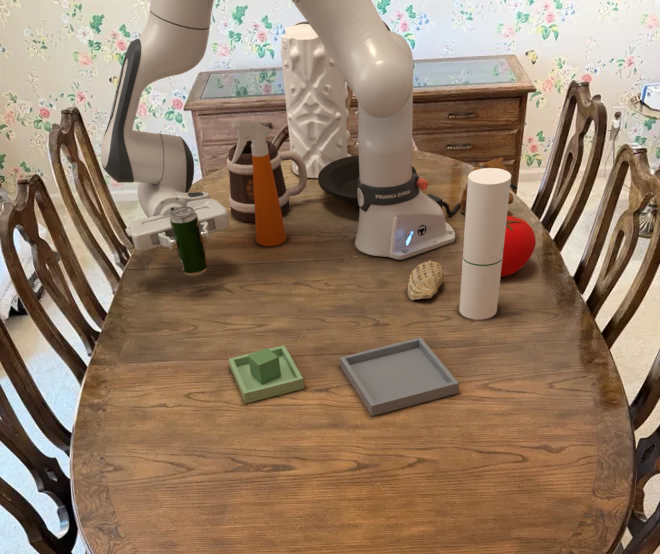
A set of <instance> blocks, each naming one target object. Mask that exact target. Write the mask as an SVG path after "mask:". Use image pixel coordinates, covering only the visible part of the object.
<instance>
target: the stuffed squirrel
mask: <svg viewBox="0 0 660 554" xmlns="http://www.w3.org/2000/svg"><path fill="white" fill-rule="evenodd" d="M503 162H504V158H503V157H499V158H494V159H491V160H488V161H486V162H480V163H479V166H475V167H474V168H473V169H472V170H471V172H473V171H475V170H478V169H483V168H498V169H503V170H506V171H508V169H507V168H506V166H505V165H504V163H503ZM508 172H509V171H508ZM511 179H514V178H513V175H512V174H511ZM467 187H468V182H467V183H466V185H465V188H464V189H463V192H462V195H461V199H460V201H459V202H458V203H460V209H461V212H462V213H463V214H464V216H466V202H467ZM513 202H514V195H513V193H512V192H510V193H509V202H508V205H512V204H513ZM507 216H513V217H514V213H513V212H511V211H510V210H508V212H507Z"/></svg>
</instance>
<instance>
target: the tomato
mask: <svg viewBox="0 0 660 554" xmlns="http://www.w3.org/2000/svg"><path fill="white" fill-rule="evenodd" d="M536 243H537V241H536V233H535V232H534V229H533V227H532V226H531V225H530V224H529V223H528V222H527V221H525V220H524V219H523V218H519V217H517V216H514V215H513V216H507V221H506V230H505V239H504V249H503V258H502V267H501V277H500V278H503V277H507V276H510V275H513V274H515V273H517V272H518V271H519V270H521V269H522V268H523V267H525V265H526V264H527V263H528V262H529V260H530V259H531V257H532V255H533V253H534V251H535V247H536Z"/></svg>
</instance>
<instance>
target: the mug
mask: <svg viewBox="0 0 660 554" xmlns="http://www.w3.org/2000/svg"><path fill="white" fill-rule="evenodd" d="M266 143H267V145H268V153H269V157H270V161H271V166H272V171H273V175H274V180H275V185H276V190H277V194H278V199H279V204H280V208H281V213H282V217H283V216H285V215H286V213H287V212H288V211H289V209H290V206H291V204H290V197H294V196H295V197H296V196H297V195H300V194H301V193H302V192H303V191H304V189H306V188H307V182H308V178H307V172H306V165H305V162H304V160H303V159H302V157H301V156H300V155H299V154H297V153H296V152H294V151H291V150H285V151H278V148H277V146H276V145H275V144H274V143H272V142H271V141H268V140H266ZM251 144H252V139H249V140H248V141H247V142H246V145H245V147H244V149H243V151H242V153H241V155H240V156H239V158H238V159H237V161H236V162H235V163H234V164H231V161H232V159H233V156H234V153H235V150H236V147H237V143H236V144H234V145H233V146H232V147H231V148H230V149H229V150H228V157H227V158H226V168H227V169H228V173H229V174H228V175H229V177H228V178H229V191H230V194H229V196H228V205H229V206H230V213H231V215H232V216H233V217H234V218H235V219H237V220H239V221H241V222H245V223H255V224H256V222H255V202H254V183H253V164H252V150H251ZM290 160H291V162H292V161H294V162H295V163H296V165H297V166H298V172H299V175H298V183H297V185H296V186H293V187H290V188H287V187H286V183H285V177H284V173H283V168H282V162H283V161H290Z"/></svg>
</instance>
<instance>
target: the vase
mask: <svg viewBox="0 0 660 554" xmlns="http://www.w3.org/2000/svg"><path fill="white" fill-rule="evenodd" d="M284 32H285V34H282V35H281V36H280V38H281V42H280V57H281V65H282V67H281V68H282V80H283V88H284V98H285V100H284V101H285V108H286V118H287V128H288V140H289V147H290V148H289V151H294V152H296V153H297V154H299V155H300V156H301V157H302V159H303V160H304V162H305V165H306V172H307V179H308V178H310V179H318V175H319V173H320V171H321V170H322V169H323V168H324V167H325V166H326V165H328V164H330V163H331V162H334V161H336V160H339V159H342V158H345V157H350V156H352V154H350V153H348V143H349V141H350V139H351V132H350V130H349V129H347V120H348V119H349V117H350V111H349V109H348V108H347V107H346V105H347V102H346V101H347V99H348V98H349V91H348V89H347V88H346V81H345V79H344V78H343V76H342V74H341V73H340V71H339V69H338V68H337V66H336V64H335V62H334V61H333V59H332V57H331V55H330V54H329V52H328V50H327V48H326V47H325V45H324V44H323V42H322V41H321V39H320V38H319V37H318V35H317V34H316V32H315V31H314V30H313V28H312V27H311V26H310V24H309V23H299V24H295V25H291V26H287V27H285V28H284ZM291 169H292V172H293V173H294V174H295V175H297V176H299V172H298V166H297V165H296V163H295V162H294V161H292V160H291Z"/></svg>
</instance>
